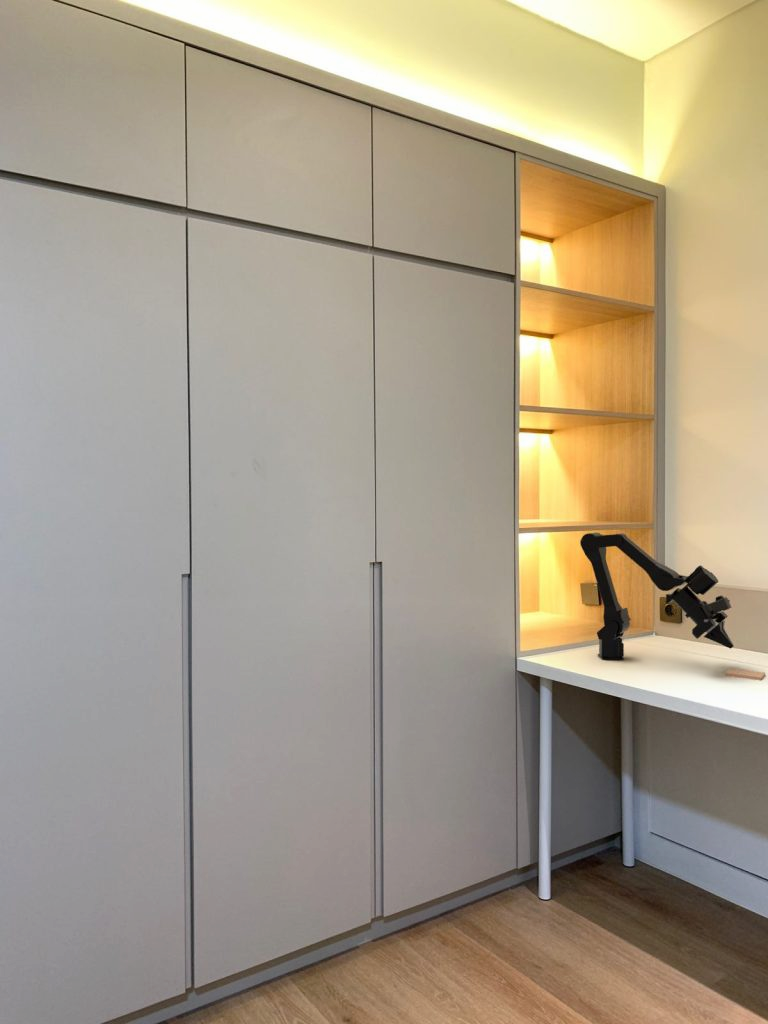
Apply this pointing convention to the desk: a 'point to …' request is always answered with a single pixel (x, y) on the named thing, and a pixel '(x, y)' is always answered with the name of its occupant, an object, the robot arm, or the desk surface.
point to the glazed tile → (745, 674)
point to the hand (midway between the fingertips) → (732, 647)
